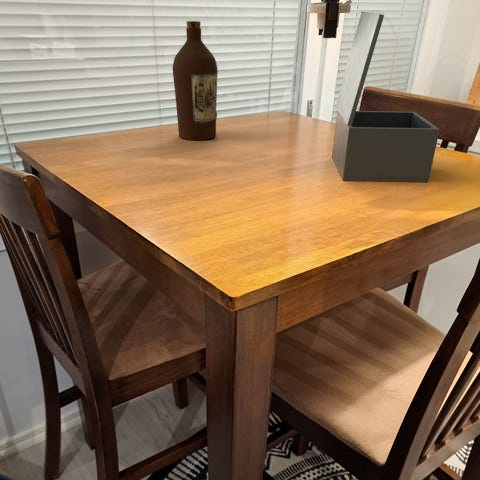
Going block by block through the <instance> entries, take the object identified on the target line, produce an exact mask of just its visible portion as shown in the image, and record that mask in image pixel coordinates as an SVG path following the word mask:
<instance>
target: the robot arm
mask: <svg viewBox="0 0 480 480" xmlns="http://www.w3.org/2000/svg"><path fill="white" fill-rule="evenodd" d="M320 2H325V3H326V10H325V22H324V35H323V38H322V39H337V35H338V34H337V33H338V28H337V23H338V12H339V3H340V2H341V0H320ZM322 32H323V29H318V36H322Z"/></svg>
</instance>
